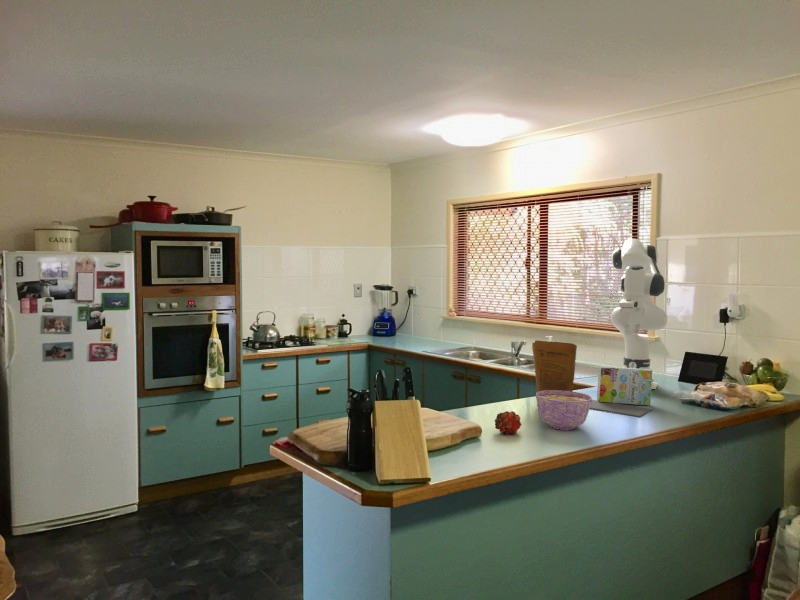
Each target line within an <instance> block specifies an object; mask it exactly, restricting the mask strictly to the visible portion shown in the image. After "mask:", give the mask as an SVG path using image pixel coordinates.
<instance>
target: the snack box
mask: <svg viewBox="0 0 800 600" xmlns="http://www.w3.org/2000/svg"><path fill="white" fill-rule="evenodd" d="M597 373H598V374H597V394H596V400H597V401H599V402H609V403H617V404H623V405H640V406H651V398H652V389H651V385H652V373H653V370H652V369H651V370H649V369H637V368H625V367H623V366H621V367H619V366H618V367H617V366H601V365H599V366H598V372H597Z"/></svg>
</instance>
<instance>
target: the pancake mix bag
mask: <svg viewBox="0 0 800 600" xmlns="http://www.w3.org/2000/svg"><path fill="white" fill-rule="evenodd" d="M531 345H532V347H531V349H532V355H533V356H532V357H533V365H534V373H535V381H536V382H535V383H536V393H537V392H539V391H546V390H562V391H572V392H574V390H573V389H574V382H575V381H574V380H575V373H576V371H575V370H576V359H577V349H578V345H577V344H574V343H572V342H564V341H548V340H535V341H534V342H532V343H531ZM536 406H537V407H538V405H537V404H536Z"/></svg>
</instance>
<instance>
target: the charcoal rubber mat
mask: <svg viewBox="0 0 800 600" xmlns="http://www.w3.org/2000/svg"><path fill="white" fill-rule="evenodd" d="M592 409H593V411H601V412H605V411H606V412H607V413H611V412H612V413H613V414H618V415H624V416H632V417H635V418H636V417H637V418H641V417H643V416H645V415H647V414H648V413H650V412H651V410H653V408H648V407H641V406H634V405H631V404H623V403H609V402H599V401H598V400H597V399H592V402H591V405H590V409H589V410H592ZM612 413H611V414H612Z"/></svg>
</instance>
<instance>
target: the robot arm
mask: <svg viewBox="0 0 800 600" xmlns="http://www.w3.org/2000/svg"><path fill="white" fill-rule="evenodd" d="M610 259H611V263H612V266H613V267H614V268H615V269H617V270H622V269H623V270H624V269H625V273H624V274H623V275H622V276H621V277H620V291H622V292H623V298H622V299H621V300H620V301H619V303H618V306H619V307H615V308H613V310H612V312H611V314H610V321H611V324H612V326H614V328H616V329H617V330H618V331H619V333H620V334H621V335H622V337H623V340H624V357H623V360H622V361H623V363H622V364H623V366H622V367H625V368H637V369H649V370H652V368H651V367H650V366H651V358H650V343H649V341H648V340H647V339H646V338H644V337H643V336H641V335H639V334H640V331H641V330H642V331H658V330H663V329H664V328H665V327H666V326H667V324H668V315H667V313H666V311H665V310H664V309H662V308H660V307H659V306H657V305H656V304H655V302H654V301H653V300H652V299H651V297H659V296H660V295H661V294H662V293H664V291H665V287H666V283H665V279H664V276H663V275H662V274H661V272H660V270H659V268H658V266H657V262H658V260H659V252H658V250H657V248H656V246H655V245H650V244H647V245H643V242H642V241H641V240H640V239H638V238H629V239H627V240H625V242H624V243H623V245H622V248H621V247H618V248H616V249H614V250H613V252H612V254H611V256H610ZM657 388H658V383H657V382H655V381H654V373H653V372H652V385H651V390H652V389H655V390H656V389H657Z"/></svg>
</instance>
